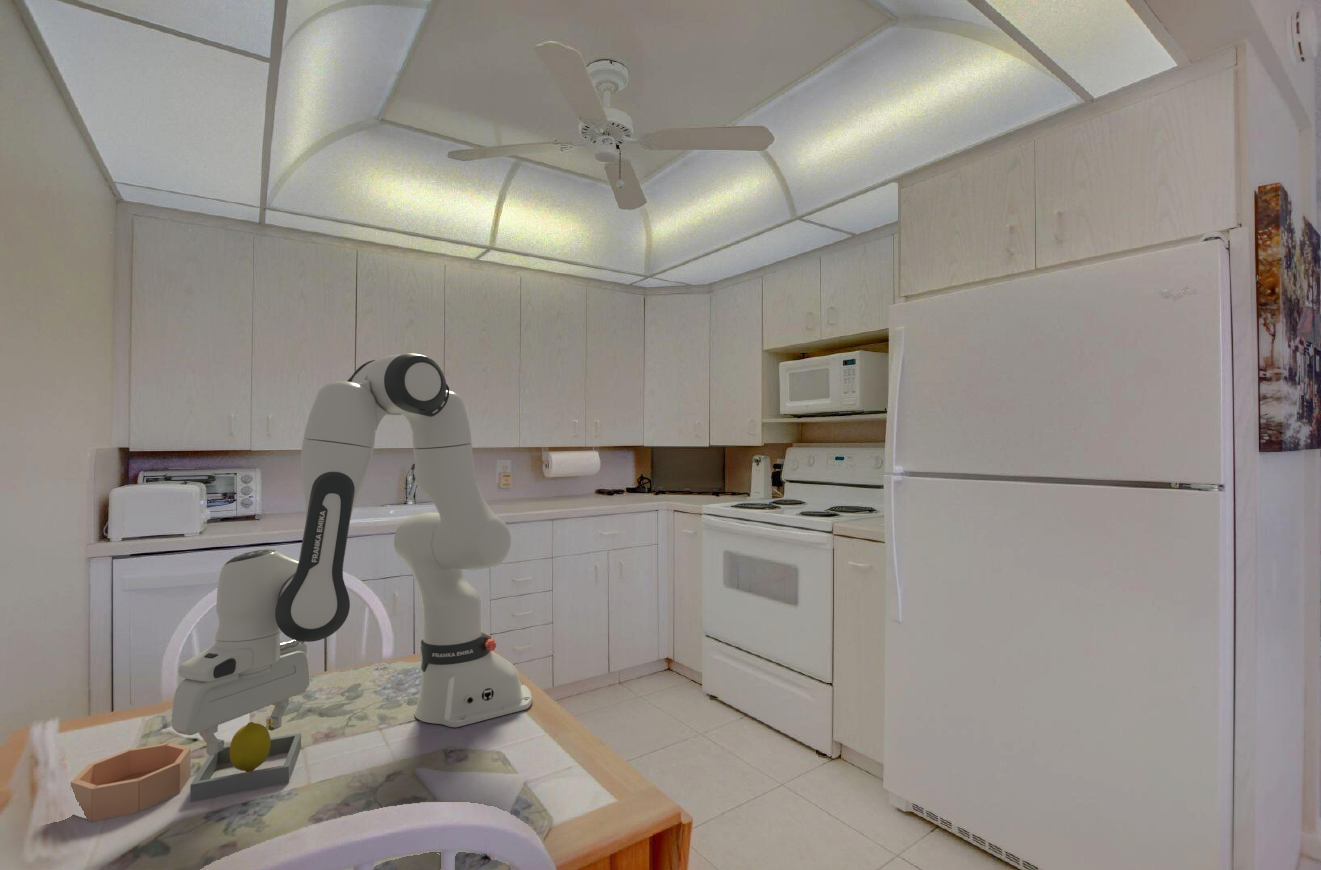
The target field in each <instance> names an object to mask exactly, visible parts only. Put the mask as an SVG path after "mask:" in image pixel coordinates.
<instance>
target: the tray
mask: <svg viewBox="0 0 1321 870" xmlns="http://www.w3.org/2000/svg"><path fill="white" fill-rule="evenodd" d="M270 740H271V746H270V751H269V754H268V756H272V755H276V754H282V753H287V755H286V757H285V758H286V759H285V761H284V764H283V765H277V766H272V767H267V768H262V769H256V770H255V769H254V771H250V772H246V771H244V772H240V773H235V774H229V775H223V776H219V777H213V774H214V772H216V769H217V768H218V766H219V765H220V764H221V765H222V764H226V763H231V760H230V745H231V744H227V745H224V746H223V747H224V751H222V752H220V753H218V754H216V755H213V756H212V755H208V757H207V759H206V760H205V761H204V763H203V764H202V766H201V767H200V769H199V770H198V772H197V774H196V776H195V777H194V779H193V780H192V782H191V783H190V784H189V785H190V789H189V791H190V795H189V796H190V803H191V802H192V803H193V802H196V801H197V802H199V801H202V800H206V799H207V800H208V799H211V798H217V797H223V796H227V795H233V794H237V793H242V792H249V791H252V790H258V789H263V788H269V787H272V786H273V787H274V786H279V785H284V784H288V783H290V781H291V778H292V775H293V771H294V769H295V767H296V763H297V761H298V757H299V755H300V751H301V748H302V733H301V732H299V733H298V732H297V733H294V734H288V735H287V734H286V735H281V736H276V737H270ZM212 777H213V778H212Z"/></svg>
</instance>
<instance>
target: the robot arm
mask: <svg viewBox="0 0 1321 870" xmlns="http://www.w3.org/2000/svg"><path fill="white" fill-rule="evenodd" d="M386 415H387V416H389V415H390V416H401V415H403V416H404V417H405V418H406V420H407V421H408V423H409V426H410V428H411V429H410V430H411V431H412V447H413V457H414V469H415V479H416V484H417V487H418V488H419V490H420V492H422V493H423V494H424V495H425V496H427V497H428V498H429V499H430V500H431V502H432V503H433V504H434V506H435V508H436V510H437V512H424V513H420V514H415V515H411V516H408V517H406V518H404V519H403V520H402V521H401V522H400V523H399V524H398V526H397V528H396V529H395V533H394V537H393V546H394V550H395V553H396V554H397V556H398V557H399V558H400V560H402V561H404V563H405V564H406V565H407V567H408V569H409V570H410V571H411V573H412V576H413V578H414V581H415V583H416V585H417V588H418V591H419V595H420V600H421V607H422V608H421V609H422V630H423V631H422V634H423V638H422V640H421V642H420V651H419V652H420V653H419V656H420V657H419V658H420V659H419V661H420V670H421V681H420V682H421V683H420V689H419V695H418V700H417V703H416V707H415V710H414V717H415V718H416V719H417V720H419V721H421V722H424V723H427V724H428V723H429V724H437V725H438V724H439V725H443V726H447V727H449V728H459V727H462V726H467V725H471V724H475V723H478V722H482V721H486V720H489V719H493V718H498V717H501V716H505V715H508V714H512V713H516V712H520V711H524V710H527V709H529V708H530V706H531V705H532V704H533V703H532V702H533V697H532V693H531V692H532V691H531V690H530V689H529V688H528V687H527V685H525V684H524V683H522V682H521V680H520V676H519V672H518V670H517V669H516V667H515V665H513V663H512V662H510V661H509V660H507V659H505V658H504V657H502V656H501V655H499V654H498V653H495V650H496V648H497V643H496V640H495V639H494V638H492V637H491V636H490V635H489V634H488V633H487V632H485V633H484V632H482V599H481V595H480V594H479V592H478V590H476V588H474V587H473V586H472V585H471V584H470V583H469V582H468V581H467V579H466V577H465V575H464V573H463V570H470V571H472V570H473V571H476V570H484V569H490V568H494V567H495V568H496V567H497V566H499V565H501V564H502V563H503V562H504V560H505V559H506V557H507V556H508V554H509V552H510V548H511V542H512V541H511V539H512V538H511V537H512V536H511V532H510V529H509V527H508V525H507V524H506V522H505V521H504V520H503V519H502V518H501V517H498V516H497V515H496V513H495V512H493V510H492V509H491V507H490V506H489V504H488V503H487V501H486V499H485V498H484V495H483V493H482V492H481V490H480V486H479V484H478V480H477V476H476V468H475V461H474V452H473V443H472V441H473V440H472V434H471V427H470V422H469V418H468V413H467V409H466V407H465V403H464V400H463V398H462V397H461V396H460V395H459V394H458V393H456V392H454V391H451V390H450V386H449V385H448V384H447V381H446V377H445V376H444V372H443V371H442V369H441V367H440V366H439V364H437V362H436V361H435V360H433V359H432V358H430V357H429V356H427V355H423V354H419V353H413V352H410V353H409V352H408V353H403V354H402V353H401V354H391V355H386V356H383V357H381V358H377V359H374V360H370V361H369V360H368V361H367V362H365V363H364V364H362V365H360V366H359V367H358V368H357V369H356V370H355V371H354V373H352V375H351V376H350V378H348V380H341V381H340V380H338V381H333V382H329V383H326V384H325V385H323V386H322V387H320V389H319V390H318V392H317V395H316V397H315V398H314V402H313V404H312V407H311V408H310V412H309V415H308V418H307V422H306V425H305V428H304V429H305V430H304V435H303V438H302V439H303V440H302V445H301V451H300V452H301V453H300V479H301V485H302V490H303V492H304V493H303V494H304V500H305V511H306V512H305V513H306V514H305V515H306V517H305V525H304V529H303V535H302V536H303V537H302V542H301V546H300V547H301V548H300V551H299V557H298V558H299V559H298V560H296V559H293V558H292V557H289V556H286V555H285V554H282V553H281V552H279V551H278V550H276V549H272V548H269V549H268V548H267V549H258V550H253V551H249V552H245V553H241V554H238V555H236V556H234V557H231V558H230V559H229V560H228V561H226V563H225V564H224V565H223V566H222V568H221V571H220V573H219V578H218V585H217V592H216V593H217V594H216V605H215V606H216V609H215V610H216V614H217V617H218V628H217V630H216V633H215V641H214V644H212V645H210V646H208V647H207V648H206V649H205V650H203V651H201V652H200V653H198V654H196V655H194V656H193V657H191V658H189V659H188V660H186V661H184V662H183V663H181V664H179V667H178V676H179V678H183V680H182V681H180V683H179V684H178V686H177V687H176V689H175V692H174V697H173V700H172V701H173V702H172V710H171V711H172V712H171V727H172V729H173V730H174V731H175V732H176V733H177V734H180V735H181V734H182V735H184V736H193V735H196V734H199V736H200V737H201V738H202V739H203V741H204V742H205V744H206V754H207V755H208V756H209V755H212V756H213V755H216V754H218V753H220V752H222V751H224V747H223V746H225V740H224V739H220V738H217V737H216V735H215V734H216V733H218V731H219V726H220V725H222V724H224V723H227V722H230V721H233V720H235V719H237V718H240V717H243V716H245V715H248V714H251V713H254V712H256V711H259V710H261V709H264V708H266V707H269V706H274V708H273V710H272V713H271V715H270V716H269V717H267V718H265V723H266V725H265V727H266V729H267V730H268V731H274V730H277V729H280V728H281V727H282V721H283V719H282V717H284V715H285V713H286V711H287V708H288V707H289V704H290V698H292V697H296V696H298V695H300V694H303V693H305V692H306V691H307V689H308V688H309V685H310V668H309V663H308V662H309V661H308V657H307V656H308V654H307V653H308V649H307V648H308V646H307V643H308V642H309V643H313V642H317V641H321V640H323V639H326V638H328V637H330V636H332V635H333V634H335V633H336V632H337V631H338V630H339V629H341V627H342V626H343V625H344V623H346V620H347V619H348V615H349V613H350V609H351V608H350V607H351V604H350V603H351V601H350V596H349V593H348V589H347V587H346V584H345V580H344V562H345V556H346V549H347V544H348V543H347V542H348V535H349V530H350V529H349V528H350V523H351V518H352V514H353V511H354V508H355V506H356V503H357V501H358V498H359V495H360V493H361V491H362V489H363V486H364V484H365V482H366V479H367V476H368V473H369V469H370V466H371V463H372V458H373V455H374V448H375V441H376V431H377V430H378V426H379V425H380V423H381V422H382V420H383V419H384V417H386ZM282 633H283V634H284V635H285V636H286V637H288V638H289V639H291V640H288V641H284V642H281V641H282ZM306 642H307V643H306Z"/></svg>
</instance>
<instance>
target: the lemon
mask: <svg viewBox="0 0 1321 870" xmlns="http://www.w3.org/2000/svg"><path fill="white" fill-rule="evenodd" d="M270 738H271V736H270V732H269V730H267V729H266V726H264V725H263V724H261V723H258V722H257V723H256V722H253V721H249V722H248V723H247V724H245V725H244V726H242V727H240V728H239V729H238V730H237V731H236V732H235V734H234V735H233V737H232V739H231V743H230V744H229V745H230V760H231V762H230V763H231V765H232V766H233V767H234V768H235V769H236V770H238V771H244V772H250V771H255V769H256V768H259V767H260V766H261V765H262V764H263V763H264V762H265V761H266V760H267V759H268V756H269V755H268V754H269V751H270V746H271V740H270Z"/></svg>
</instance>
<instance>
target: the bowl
mask: <svg viewBox="0 0 1321 870" xmlns="http://www.w3.org/2000/svg"><path fill="white" fill-rule="evenodd" d="M191 752H192V751H191V747H188V746H184V745H181V744H179V743H178V744H177V743H173V742H164V743H159V744H158V743H157V744H153V745H152V744H151V745H146V746H141V747H136V748H135V747H134V748H129V749H126V750H124V751H120V752H119V753H115V754H113V755H110V756H108V757H106V758H103V759H100V760H98V761H94V762H92V763H90V764H88V765H86V766H85V767H84V768H83V770H81V771H80V772H79V773H78V774H77V775H76V776H75V777H74V778H73V779H72V780H71V781H70V788H71V787H72V789H73V792H74V794H75V798H76V800H77V802H79V806H81V808H82V810H83V811H84V815H85V816H86V818H87V819H88V820H87V821H89V822H96V821H102V820H106V819H112V818H117V817H122V816H127V815H131V814H137V813H138V814H139V813H140V812H143V811H144V810H147V809H149V808H151V807H153V806H155V805H157V804H159V803H162V802H164V801H166V800H168V799H170V798H172V797H174V796H177V795H179V794H180V793H181V792H182V790H183V788H184V787H185V786H186V784H187V783H188V781H189V779H190V778H191V770H192V767H191V760H192V759H191V757H192V756H191Z"/></svg>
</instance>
